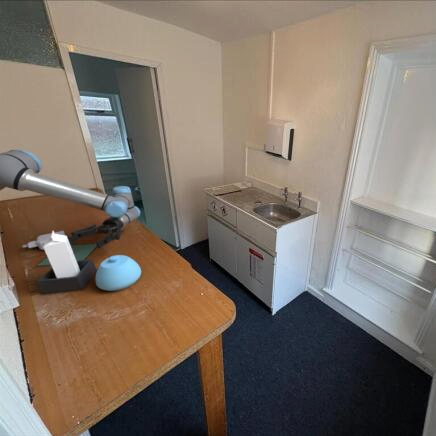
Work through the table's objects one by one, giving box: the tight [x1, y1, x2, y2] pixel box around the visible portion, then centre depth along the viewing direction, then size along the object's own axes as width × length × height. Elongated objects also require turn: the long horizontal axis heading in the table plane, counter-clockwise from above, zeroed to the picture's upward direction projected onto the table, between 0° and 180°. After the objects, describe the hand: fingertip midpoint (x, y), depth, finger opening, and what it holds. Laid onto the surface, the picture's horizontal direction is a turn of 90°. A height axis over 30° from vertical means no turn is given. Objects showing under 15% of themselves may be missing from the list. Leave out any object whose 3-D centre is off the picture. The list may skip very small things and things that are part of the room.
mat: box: [36, 243, 97, 267], centre depth 109 cm, size 16×16×1 cm
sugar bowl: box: [95, 254, 142, 292], centre depth 93 cm, size 15×15×12 cm
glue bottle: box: [21, 230, 67, 251], centre depth 114 cm, size 5×9×15 cm
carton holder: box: [36, 258, 98, 295], centre depth 92 cm, size 12×12×6 cm
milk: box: [43, 230, 80, 278], centre depth 89 cm, size 6×6×22 cm
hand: (81, 245), depth 96 cm, fingers open, 13 cm apart
